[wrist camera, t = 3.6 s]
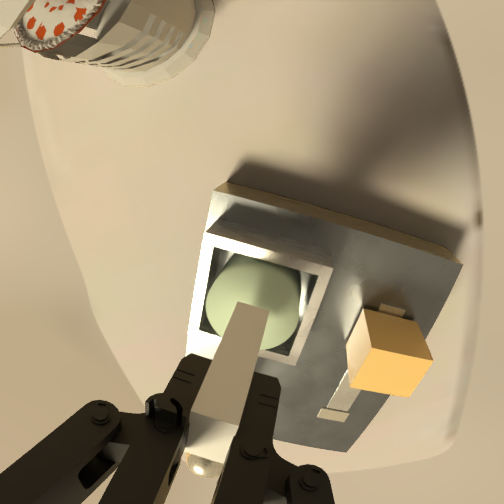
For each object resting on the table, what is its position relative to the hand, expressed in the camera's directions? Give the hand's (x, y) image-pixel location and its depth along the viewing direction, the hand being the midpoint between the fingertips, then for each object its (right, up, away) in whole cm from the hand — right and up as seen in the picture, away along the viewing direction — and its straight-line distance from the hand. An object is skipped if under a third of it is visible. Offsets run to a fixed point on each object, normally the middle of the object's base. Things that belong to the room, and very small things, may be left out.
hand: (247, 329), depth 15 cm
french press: (-8, +20, +3) cm, 21 cm away
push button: (+1, +1, +5) cm, 5 cm away
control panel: (+4, -3, +9) cm, 11 cm away
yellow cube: (+9, -2, +5) cm, 10 cm away
